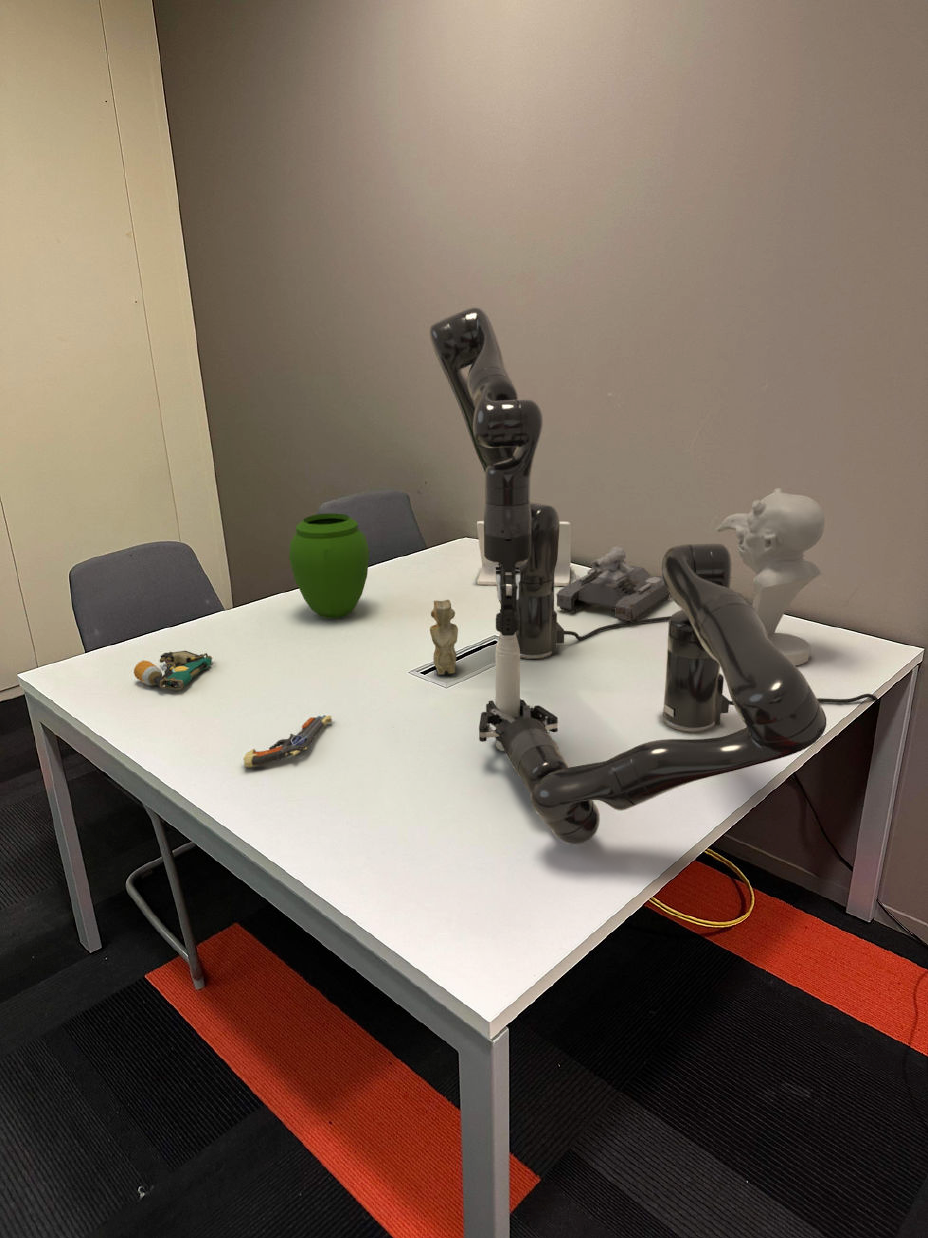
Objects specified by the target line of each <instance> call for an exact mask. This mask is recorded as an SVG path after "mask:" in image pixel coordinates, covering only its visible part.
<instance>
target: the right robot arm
mask: <svg viewBox="0 0 928 1238" xmlns="http://www.w3.org/2000/svg"><path fill="white" fill-rule="evenodd" d="M661 576H662V577H663V581H664V584H665V586H666V589H667V591H668V593H669V594H670V596H669V597H670V598H671V599H672V600H673V601H674V603H676V605H677V606H678V607H679V608H680V610H677V611H676V612H674V613H673V614H672V615H670V616H671V617H670V620H668V629H667V631H668V632H667V647H666V664H665V679H664V680H665V681H664V699H663V709H662V710H663V711H662V721H663V723H664V724H665V725H666V726H668V727H670V728H671V729H674V730H677V731H680V732H685V733H702V732H706V731H710V730H712V729H713V728H714V727H715V726H720V724H721V716H722V714H728V713H729V709H730V706H734V709H735V711H736V713H737V714H738V716H740V719H741V720H742V722H743V724H744V725H745V727H743V728H741V729H739V730H737V731H735V732H733V733H730V734H726V735H724V736H718V737H711V738H694V739H692V738H691V739H689V738H688V739H687V738H685V739H684V738H674V739H673V738H667V739H658V740H657V739H656V740H652V741H647V742H645V743H641V744H639V745H636V746H634V747H632V748H630V749H628V750H626V751H623V752H622V753H620V754H617V755H615V756H613V757H611V758H609V759H607V760H603V761H600V762H592V763H587V764H581V765H575V766H569V765H568V763H567V761H566V760H565V758H564V757H563V755H562V754H561V751H560V749H559V746H558V745H557V742H556V741H555V740H554V739H553V737H552V735H551V734H550V733H558V728H559V717H558V716H556V715H555V714H553V713H552V712H550V711H549V710H547V709H546V708H544V707H543V706H541V705H534V706H533V707H531V705H528V704H527V702H526V701H525V699H521V698H520V716H517V717H510V716H508V715H507V714H506V713H504V712H500V711H498V709H497V707H496V702H494V700H488V701H487V702H488V703H486V704H485V711H482V712H481V713H480V719H479V725H478V740H479V742H482V743H484V742H487V740H488V739H490V738H494V739H495V741H496V740H497V741H499V742H501V744H502V746H503V749H504V750H505V751H504V753H505V754H506V756H507V758H508V760H509V762H510V763H511V765H512V767H513V769H514V771H515V772H516V774H517V775H518V776H519V777H520V779H521V780H522V782H523V784H524V786H525V788H526V789H527V791H528V792H529V794H530V802H531V805H532V808H533V810H534V811H535V812H536V813H537V815H538V816H539V817H540V818H541V819H542V821H543V822H544V823H545V825H547V827H548V828H549V829H550V830H551V831H552V833H553V835H555V836H556V838H558V839H559V840H560V841H562V842H563V843H566V844H569V845H582V844H584V843H587V842H588V841H590V840H592V838H593V837H595V835H596V834H597V831H598V830H599V827H600V822H601V815H600V811H599V808H598V806H597V805H596V803H595V802H594V801H600V802H603V803H605V804H606V805H608V806H609V807H610V808H612V809H613V810H615V811H620V812H622V811H626V810H629V809H631V808H634V807H636V806H638V805H640V804H643V803H645V802H647V801H649V800H652V799H654V798H656V797H658V796H660V795H663V794H665V793H667V792H669V791H672V790H675V789H678V788H680V787H682V786H683V787H684V786H686V785H688V784H691V783H694V782H698V781H700V780H704V779H705V780H706V779H708V778H712V777H715V776H719V775H723V774H727V773H731V772H735V771H739V770H742V769H747V768H750V767H753V766H757V765H761V764H765V763H768V762H772V761H776V760H780V759H782V758H786V757H788V756H789V757H790V756H792V755H794V754H798V753H799V752H802V751H804V750H807V749H808V748H810V747H811V746H812V745H814V744H815V743H816V742H818V740H820V738H821V737H822V735H823V734H824V733H825V731H826V728H827V716H826V713H825V711H824V709H823V707H822V705H821V704H820V703H829V704H849V703H854V702H857V701H861V700H863V699H867V698H868V699H871V700H873V701H879V699H878V698H877V696H875V695H874V694H872V693H863V694H859V695H858V696H854V697H852V698H825V697H824V698H819V697H817V696H816V695H815V693H814V691H813V690H812V689H813V688H811V686H810V684H809V683H808V681H807V679H806V677H805V676H804V674H803V673H802V672H801V670H800V669H799V668H798V666H797V665H796V666H795V665H794V664H793V663H792V662H791V661H790V660H789V659H788V658H787V657H785V656H784V655H783V654H782V653H781V652H780V651H779V650H778V649H777V648H776V647H775V646H774V645H773V644H772V642H771V641H770V640H769V639H768V634H767V630H766V627H765V625H764V623H763V621H762V619H761V618H760V616H759V615H758V613H757V612H756V610H755V609H754V608H753V606H752V603H751V602H750V601H749V599H748V598H747V597H744V595H742V594H741V593H739V592H738V591H735V590H733V589H731V588H730V586H731V578H732V557H731V553H730V551H729V549H728V548H727V546H726V545H724V544H722V543H690V544H689V543H688V544H687V543H686V544H685V543H684V544H683V543H682V544H678V545H674V546H671V547H670V548H668V549H667V550H666V552H665V553H664V555H663V558H662V562H661ZM720 671H722V673H720ZM722 674H723V675H722ZM724 683H726V686H727V689H728V692H729V695H730V699H731V700H729V698H727V696H726V695H724V694H723V693H724ZM491 725H492V726H493V727H494V728H495V729H494V728H493V727H492V726H491Z"/></svg>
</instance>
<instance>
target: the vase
mask: <svg viewBox="0 0 928 1238" xmlns="http://www.w3.org/2000/svg"><path fill="white" fill-rule="evenodd" d="M358 524H359V523H358V521H356V520H355V519H353V518H352V517H350V516H349V515H347V514H344V513H335V512H334V513H333V512H331V513H320V514H313V515H310V516H307V517H305V518H303V519H302V520H301V521H300V522H299V523H298V524H297V525H296V526H295V532H296V533H295V534H294V536H293V537H292V538H291V540H290V542H289V551H288V559H289V564H290V566H291V567H290V568H291V570H292V575H293V578H294V581H295V584H296V586H297V587H298V589H299V591H300V593H301V596H302V597H303V600H304V601H305V603H306V604H307V605H308V607H309V608H310V609H311V611H312V612H314V613H315V614H316V615H317V616H318V617H320V618H324V619H326V620H327V619H329V620H336V619H341V618H345V617H347V616H349V615H350V614H351V613H352V612H353V611H354V610H355V608H356V607H357V605H358V604H359V601H360V599H361V597H362V595H363V592H364V588H365V586H366V581H367V578H368V570H369V561H370V560H369V559H370V548H369V545H368V541H367V537H366V535H365V534H364V533H363V532H362V531H361V530H360V529H359V527H358Z"/></svg>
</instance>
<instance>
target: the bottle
mask: <svg viewBox="0 0 928 1238" xmlns="http://www.w3.org/2000/svg"><path fill="white" fill-rule="evenodd" d="M494 655H495V661H494V662H495V663H494V664H495V666H494V667H495V705H496V707H497V709H498V711H500V712H504V713H506V714H507V715H508V716H510V717H517V716H520V699H521V657H520V648H519V644H518V640H517V636H516V635H515V634H514V635H513V636H503V635H502V633H501V632H499V635H498V639H497V642H496V647H495V653H494ZM495 746H496V748H497V750H499V751H502V752H505V750H504V749H503V746H502V744H501V742H499V741H497V740H496V739H495Z"/></svg>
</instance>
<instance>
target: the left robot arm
mask: <svg viewBox="0 0 928 1238" xmlns="http://www.w3.org/2000/svg"><path fill="white" fill-rule="evenodd" d="M429 339H430V343H431V346H432V349H433V351H434V354H435V356H436V359H437V361H438V363H439V366H440V368H441V369H442V371H443V374H444V375H445V378H446V380H447V382H448V384H449V386H450V389H451V391H452V393H453V395H454V397H455V400H456V402H457V405H458V406H459V409H460V413H461V415H462V418H463V420H464V423H465V426H466V428H467V431H468V434H469V437H470V440H471V443H472V445H473V448H474V450H475V453H476V456H477V458H478V460H479V462H480V464H481V466H482V469H483V472H484V511H483V521H484V556H485V558H486V559H487V560H489V561H491V562H498V566H499V567H495V577H496V582H497V585H496V592H497V593H496V597H497V600H498V602H499V604H500V608H499V613H501V633H502V635H503V636H513V635H514V634H515V635H516V636H517V640H518V644H519V648H520V659H525V660H526V659H527V660H540V659H545V658H548V657H550V656H552V655H557V654H558V653H557V650H558V649H557V648H558V647H557V645H558V644H559V645H560V644H561V645H562V644H565V636H574V637H575V639H576V640H577V641H584V640H586V639H589V638H590V637H592V636H594V635H596V634H597V633H600V632H602V631H606V630H609V629H614V628H615V629H616V628H620V627H625V626H632V625H637V624H645V623H646V624H647V623H654V622H661V621H669V620H670V617H671V616H672V615H668V616H661V617H653V618H643V619H638V620H635V621H633V623H632V622H625V621H622V622H618V623H612V624H608V625H603V626H601V627H598V628H595V629H594V630H592V631H590V632H588V633H587V634H585V635H583V636H580V635H579V633H577V632H576V631H571V630H565V629H564V628H563V626H561V625H560V623H559V622H558V613H557V612H556V611H555V586H554V572H555V567H556V564H557V559H558V544H559V528H560V526H559V522H560V517H559V514H558V511H557V509H556V508H555V507H554V506H553V505H549V504H547V503H546V504H545V503H539V502H533V501H531V475H532V474H531V473H532V469H533V465H534V464H533V463H534V459H535V455H536V451H537V448H538V445H539V441H540V438H541V436H542V430H543V425H544V423H543V422H544V419H543V414H542V410H541V408H540V406H539V405H538V404H537V402H535V401H534V400H532V399H530V398H529V399H528V398H519V396H518V392H517V389H516V387H515V385H514V383H513V382H512V379H511V378H510V376H509V374H508V372H507V370H506V367H505V363H504V357H503V355H502V351H501V347H500V343H499V341H498V337H497V335H496V332H495V329H494V326H493V324H492V322H491V320H490V317H489V316H488V314H487V313H486V312H485V311H484V309H482V308H481V307H478V306H474V307H469V308H466V309H463V310H461V311H460V312H457V313H454V314H452V315H450V316H448V317H445V318H443V319H440V320H439V321H436V322H435V323H433V324H432V325H431V326H430V327H429ZM469 367H470V368H469ZM466 368H469V370H468V373H467V376H466V375H465V373H464V372H463V370H464V369H466ZM516 613H517V614H519V630H518V631H517V632H515V614H516Z"/></svg>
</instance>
